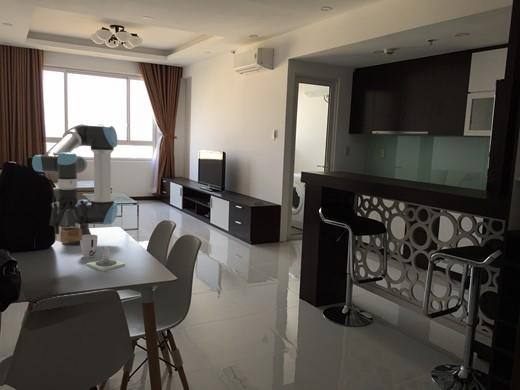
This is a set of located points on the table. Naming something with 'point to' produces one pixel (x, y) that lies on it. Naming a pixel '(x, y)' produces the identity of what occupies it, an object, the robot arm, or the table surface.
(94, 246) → the cup
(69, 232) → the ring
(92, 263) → the peg stand
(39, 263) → the table surface
